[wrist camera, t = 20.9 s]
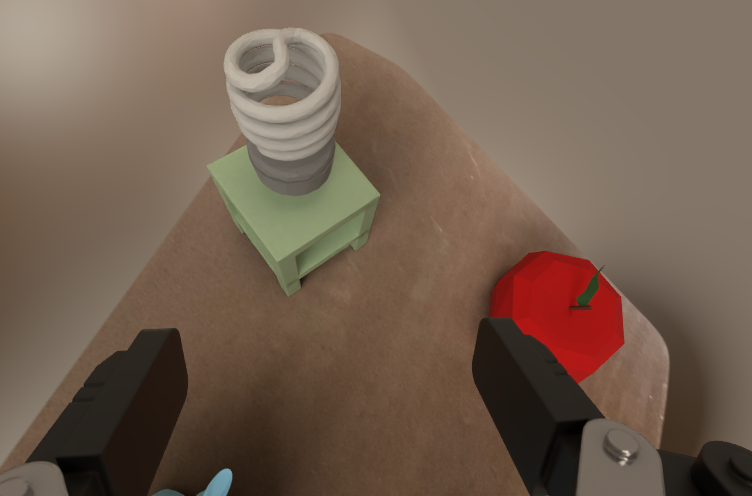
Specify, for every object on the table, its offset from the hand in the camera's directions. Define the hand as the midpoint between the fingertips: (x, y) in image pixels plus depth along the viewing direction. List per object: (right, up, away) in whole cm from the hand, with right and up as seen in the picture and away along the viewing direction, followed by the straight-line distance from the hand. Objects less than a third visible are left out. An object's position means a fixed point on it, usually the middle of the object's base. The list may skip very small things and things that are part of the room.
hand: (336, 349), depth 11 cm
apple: (+16, -5, +27) cm, 32 cm away
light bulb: (-5, +7, +18) cm, 20 cm away
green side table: (-6, +4, +27) cm, 28 cm away
